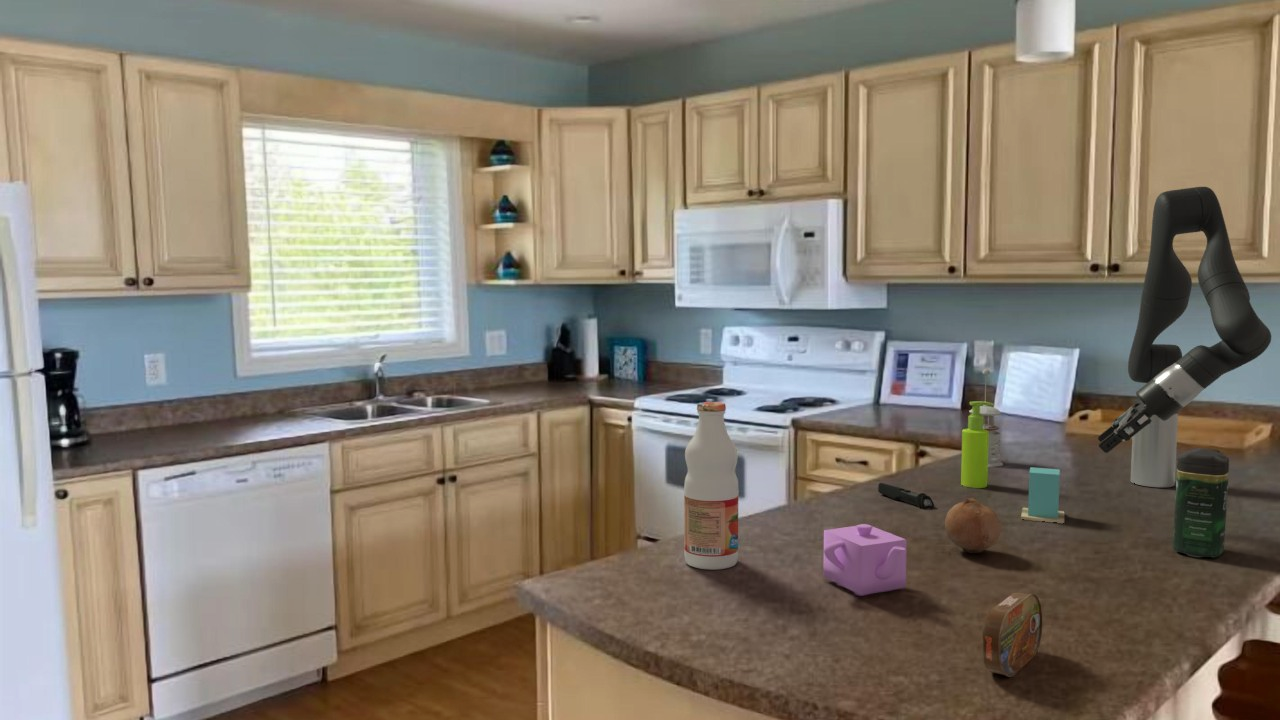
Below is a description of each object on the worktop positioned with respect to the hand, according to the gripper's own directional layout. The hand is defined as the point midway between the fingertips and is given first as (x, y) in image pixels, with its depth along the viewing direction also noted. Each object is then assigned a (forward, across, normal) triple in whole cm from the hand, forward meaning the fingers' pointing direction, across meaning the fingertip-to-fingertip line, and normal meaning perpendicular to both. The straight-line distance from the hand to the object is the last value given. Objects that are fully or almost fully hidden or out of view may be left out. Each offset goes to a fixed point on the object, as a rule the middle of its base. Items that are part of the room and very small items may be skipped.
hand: (1101, 445), depth 185 cm
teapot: (+36, +60, -14) cm, 71 cm away
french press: (+30, -54, -7) cm, 62 cm away
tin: (+19, +80, +3) cm, 83 cm away
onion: (+26, +32, -4) cm, 42 cm away
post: (+18, 0, +4) cm, 19 cm away
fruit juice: (+55, +57, -33) cm, 85 cm away
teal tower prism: (+18, 0, +3) cm, 18 cm away
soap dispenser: (+29, -25, -7) cm, 39 cm away
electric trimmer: (+39, -2, -16) cm, 42 cm away
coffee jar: (0, +15, +22) cm, 27 cm away
